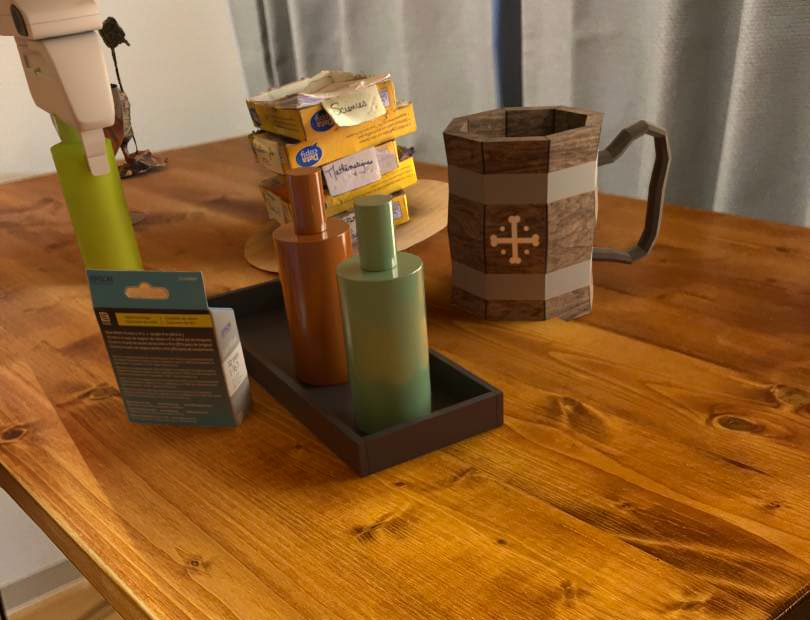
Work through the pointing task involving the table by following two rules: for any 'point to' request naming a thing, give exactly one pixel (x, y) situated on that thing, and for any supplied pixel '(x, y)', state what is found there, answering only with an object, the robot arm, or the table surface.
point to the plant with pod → (127, 108)
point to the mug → (535, 209)
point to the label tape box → (171, 349)
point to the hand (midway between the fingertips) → (87, 165)
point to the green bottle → (383, 323)
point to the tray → (331, 405)
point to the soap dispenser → (95, 205)
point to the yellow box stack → (341, 155)
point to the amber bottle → (312, 280)
